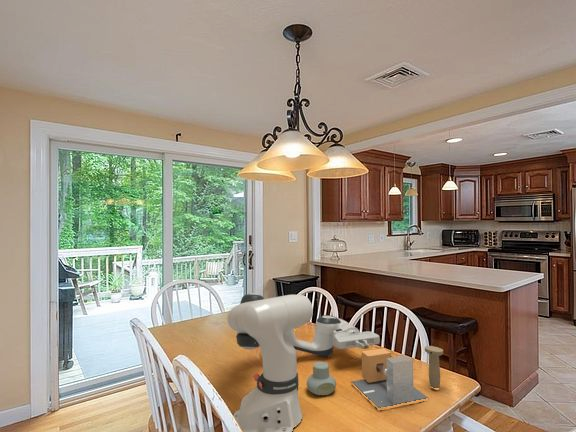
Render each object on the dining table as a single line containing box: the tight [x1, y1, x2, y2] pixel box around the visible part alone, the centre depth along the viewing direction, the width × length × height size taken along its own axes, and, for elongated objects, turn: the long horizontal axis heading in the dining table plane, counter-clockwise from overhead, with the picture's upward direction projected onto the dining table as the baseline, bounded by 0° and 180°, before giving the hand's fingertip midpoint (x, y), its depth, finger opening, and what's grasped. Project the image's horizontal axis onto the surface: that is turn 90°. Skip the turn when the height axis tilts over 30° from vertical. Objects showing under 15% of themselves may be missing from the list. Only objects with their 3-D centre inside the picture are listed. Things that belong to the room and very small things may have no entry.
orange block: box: [361, 347, 392, 383], centre depth 129 cm, size 10×5×10 cm, turn 107°
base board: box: [350, 378, 429, 408], centre depth 121 cm, size 20×19×1 cm
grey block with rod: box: [376, 355, 415, 405], centre depth 120 cm, size 8×16×14 cm, turn 17°
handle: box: [424, 345, 444, 388], centre depth 123 cm, size 5×6×15 cm
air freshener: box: [306, 361, 337, 396], centre depth 123 cm, size 11×8×10 cm
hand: (365, 346), depth 136 cm, fingers closed
